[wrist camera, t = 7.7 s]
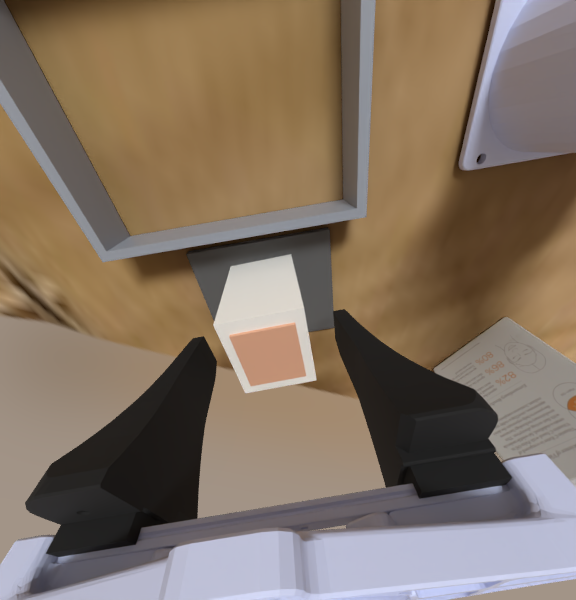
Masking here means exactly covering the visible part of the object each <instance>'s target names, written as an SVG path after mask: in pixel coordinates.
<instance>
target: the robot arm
mask: <svg viewBox="0 0 576 600" xmlns="http://www.w3.org/2000/svg"><path fill="white" fill-rule="evenodd" d="M568 153H576V0H496V2H495V6H494V11H493V15H492V20H491V24H490V28H489V33H488V37H487V41H486V46H485V50H484V54H483V59H482V63H481V67H480V72H479V76H478V80H477V85H476V89H475V94H474V98H473V102H472V107H471V111H470V115H469V120H468V124H467V128H466V133H465V137H464V141H463V146H462V150H461V155H460V159H459V168H460V169H461V170H467V171H470V170H476V169H481V168H487V167H493V166H499V165H505V164H510V163H516V162H522V161H528V160H534V159H539V158H545V157H551V156H557V155H562V154H568ZM480 154H481V158H480V160H479V161H478V162H477V158H478V156H479V155H480ZM333 317H334V328H335V339H336V342H337V346H338V349H339V352H340V355H341V358H342V360H343V362H344V365H345V367H346V369H347V372H348V374H349V376H350V379H351V381H352V383H353V385H354V388H355V390H356V392H357V395H358V398H359V400H360V403H361V407H362V409H363V413H364V415H365V419H366V422H367V425H368V428H369V431H370V435H371V438H372V441H373V445H374V448H375V451H376V455H377V458H378V461H379V464H380V468H381V472H382V475H383V478H384V482H385V485H386V488H381V489H375V490H368V491H362V492H356V493H350V494H344V495H338V496H332V497H326V498H321V499H314V500H308V501H302V502H296V503H289V504H284V505H277V506H271V507H265V508H259V509H253V510H247V511H241V512H235V513H229V514H223V515H217V516H210V517H205V518H198V519H197V512H198V488H199V476H200V463H201V453H202V443H203V436H204V428H205V422H206V417H207V413H208V408H209V404H210V400H211V395H212V391H213V387H214V382H215V376H216V366H217V361H216V359H215V357H214V355H213V353H212V351H211V349H210V347H209V345H208V343H207V342H206V340H205V338H204V336H203V337H198V338H193V339H192V340H191V341H190V342H189V343H188V345H187V346H186V347H185V348H184V349H183V351H182V352H181V353H180V354H179V355H178V357H177V358H176V359H175V360H174V361H173V363H172V364H171V365H170V366H169V367H168V368H167V369H166V370H165V372H164V373H163V374H162V375H161V376H160V377H159V378H158V379H157V380H156V381H155V382H154V384H153V385H152V386H151V387H150V388H149V389H148V390H147V391H146V392H145V393H144V394H142V395H141V396H140V397H139V398H138V399H137V400H136V401H135V402H134V403H133V404H132V405H130V406H129V407H128V408H127V409H126V410H125V411H123V412H122V413H121V414H120V415H119V416H118V417H116V418H115V419H114V420H113V421H112V422H110V423H109V424H108V425H106V426H105V427H104V428H103V429H101V430H100V431H98V432H97V433H96V434H94V435H93V436H92V437H90V438H89V439H88V440H86V441H85V442H83V443H82V444H81V445H79V446H78V447H77V448H75V449H73V450H72V451H70V452H69V453H67V454H66V455H64V456H63V457H61V458H60V459H58V460H57V461H55V462H54V463H52V464H51V465H50V467H49V468H48V470H47V471H46V473H45V474H44V476H43V477H42V479H41V480H40V482H39V483H38V485H37V486H36V488H35V489H34V491H33V492H32V494H31V495H30V497H29V498H28V500H27V501H26V502H25V504H26V509H27V510H28V511H29V512H30V513H32V514H34V515H37V516H40V517H42V518H44V519H47V520H50V521H52V522H55V523H57V524H60V525H61V526H60V528H59V530H58V532H57V534H56V535H41V536H35V537H29V538H23V539H19V540H17V541H15V543H14V544H13V546H12V548H11V549H10V551H9V552H8V554H7V555H6V557H5V558H4V560H3V562H2V563H1V565H0V600H449V599H455V598H461V597H467V596H473V595H479V594H485V593H491V592H497V591H503V590H508V589H514V588H521V587H527V586H533V585H540V584H546V583H552V582H558V581H565V580H572V579H576V487H575V486H574V485H573V484H572V483H571V481H570V480H569V479H568V478H567V477H566V476H565V475H564V474H563V473H562V472H561V470H560V469H559V468H558V467H557V466H556V465H555V464H554V463H553V462H552V461H551V459H550V458H549V457H548V456H547V455H546V454H544V453H536V454H530V455H524V456H518V457H512V458H508V459H506V460H503V461H502V462H500V460H499V459H498V458H497V456H496V455H495V454H494V452H496V448H495V447H494V445H493V444H492V443H491V441H490V440H489V439H488V438H489V437H490V435H491V434H492V432H493V430H494V429H495V427H496V425H497V422H498V415H497V413H496V412H495V411H494V410H493V409H492V407H491V406H490V405H489V404H488V403H487V402H486V401H485V399H484V398H483V397H482V396H481V395H480V394H479V393H478V392H477V391H476V390H475V389H473V388H470V387H468V386H465V385H463V384H460V383H458V382H455V381H453V380H450V379H448V378H445V377H443V376H441V375H439V374H436V373H434V372H432V371H430V370H428V369H426V368H424V367H422V366H420V365H418V364H416V363H414V362H412V361H411V360H409V359H407V358H405V357H404V356H402V355H400V354H399V353H397V352H396V351H394V350H392V349H391V348H390V347H388V346H387V345H385V344H384V343H383V342H381V341H380V340H379V339H377V338H376V337H375V336H373V335H372V334H371V333H370V332H369V331H367V330H366V329H365V328H364V327H363V326H362V325H360V324H359V323H358V322H357V321H356V320H355V319H354V318H353V317H352V316H351V315H350V314H349V313H348V312H347V311H346V310H345V309H343V310H338V311H333ZM342 525H346V529H331V530H317V529H323V528H330V527H335V526H342ZM311 530H313V531H311Z"/></svg>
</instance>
